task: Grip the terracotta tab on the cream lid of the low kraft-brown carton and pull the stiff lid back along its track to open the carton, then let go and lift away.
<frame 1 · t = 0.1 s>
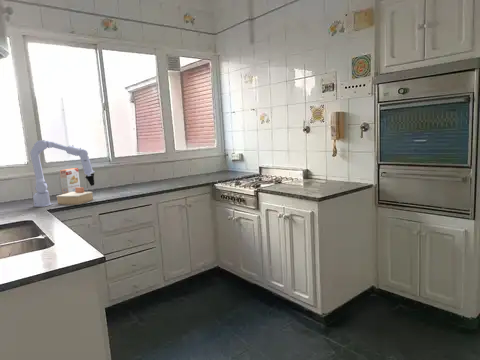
hand: (92, 184, 237), 11 cm above the table, tool pointing down, fingers open, 7 cm apart
carton: (75, 202, 232), on the table
carton lid: (74, 191, 231), point 7 cm above the table, slide at 0.0 cm
cracker box: (72, 196, 258), on the table
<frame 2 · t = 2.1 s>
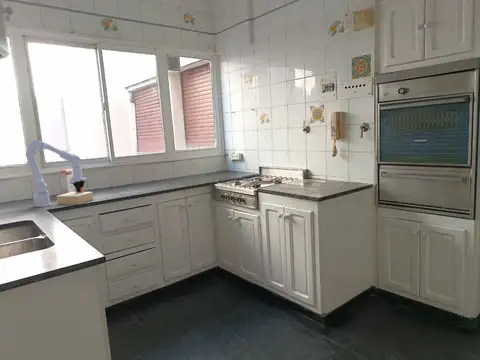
hand: (80, 191, 236), 6 cm above the table, tool pointing down, fingers closed on carton lid
carton lid: (74, 191, 231), point 7 cm above the table, slide at 0.0 cm, touching gripper
everything else where it was.
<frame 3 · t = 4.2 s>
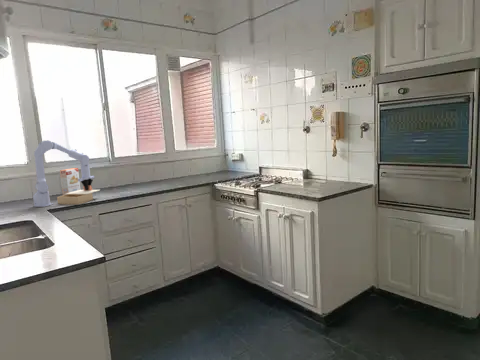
hand: (87, 189, 243), 6 cm above the table, tool pointing down, fingers closed on carton lid, 2 cm apart
carton lid: (82, 189, 238), point 7 cm above the table, slide at 7.9 cm, touching gripper
everything else where it was.
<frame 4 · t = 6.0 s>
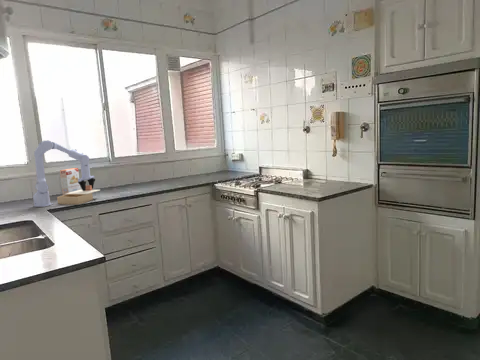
hand: (87, 189, 243), 6 cm above the table, tool pointing down, fingers open, 7 cm apart
carton lid: (82, 189, 238), point 7 cm above the table, slide at 8.0 cm
everything else where it was.
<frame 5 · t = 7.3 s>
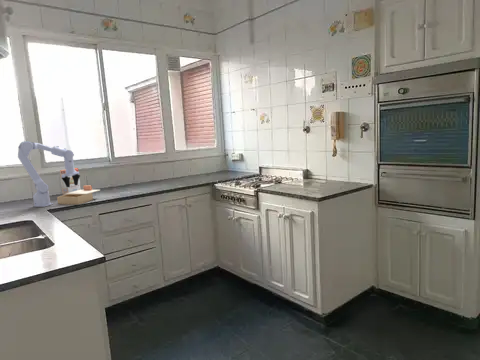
hand: (72, 186, 237), 10 cm above the table, tool pointing down, fingers open, 7 cm apart
nothing on the table moved.
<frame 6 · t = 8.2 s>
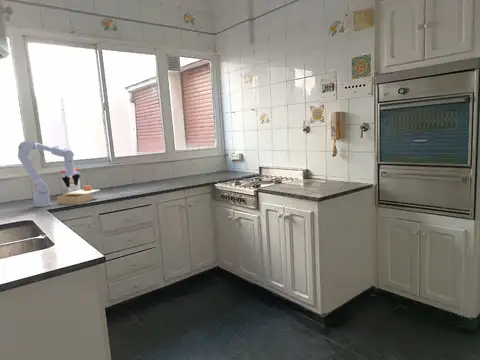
hand: (72, 186, 237), 10 cm above the table, tool pointing down, fingers open, 7 cm apart
nothing on the table moved.
at the end: carton lid slide at 8.0 cm; the gripper is holding nothing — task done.
